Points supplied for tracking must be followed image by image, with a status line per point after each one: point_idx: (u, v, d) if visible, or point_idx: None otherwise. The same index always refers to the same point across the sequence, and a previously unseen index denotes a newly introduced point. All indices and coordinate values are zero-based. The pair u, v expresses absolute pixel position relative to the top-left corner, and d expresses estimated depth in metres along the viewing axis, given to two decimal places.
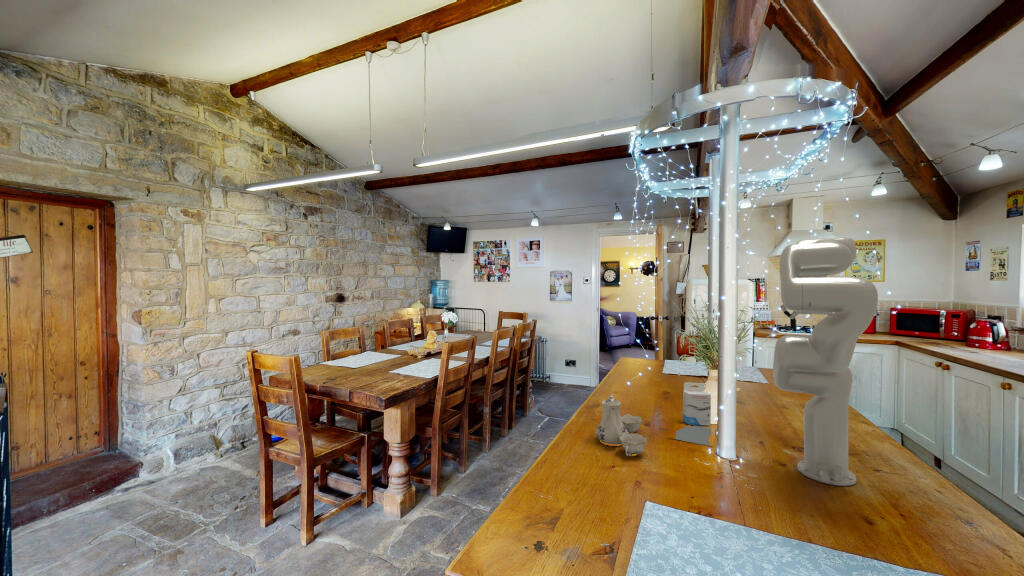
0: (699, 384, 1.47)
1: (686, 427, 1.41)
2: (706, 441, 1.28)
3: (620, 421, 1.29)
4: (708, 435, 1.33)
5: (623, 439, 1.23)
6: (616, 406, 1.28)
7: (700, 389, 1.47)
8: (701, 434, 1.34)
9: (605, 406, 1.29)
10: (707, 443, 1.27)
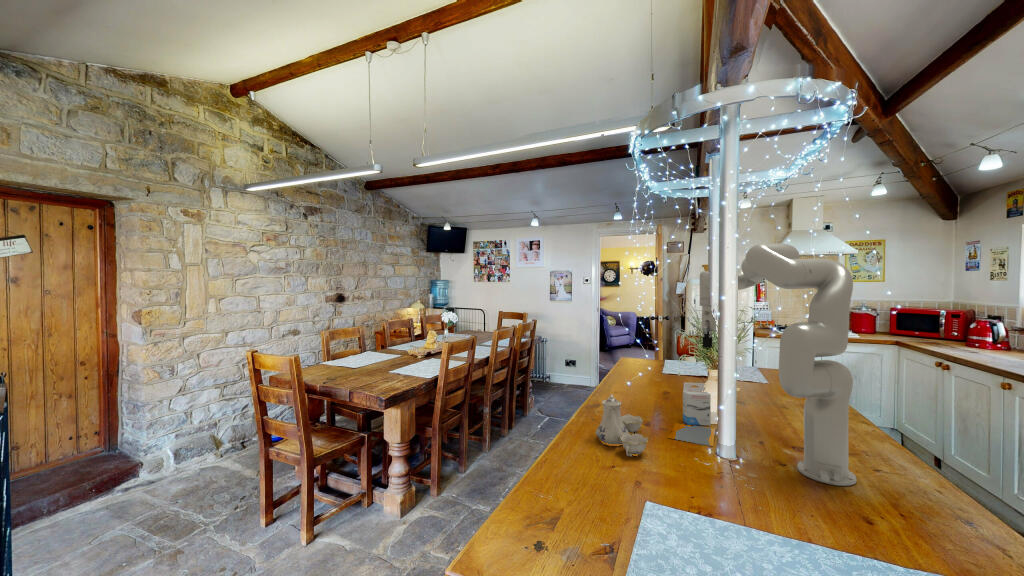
0: (699, 384, 1.47)
1: (686, 427, 1.41)
2: (706, 441, 1.28)
3: (620, 421, 1.29)
4: (708, 435, 1.33)
5: (624, 439, 1.23)
6: (616, 406, 1.28)
7: (700, 389, 1.47)
8: (701, 434, 1.34)
9: (605, 406, 1.29)
10: (707, 443, 1.27)
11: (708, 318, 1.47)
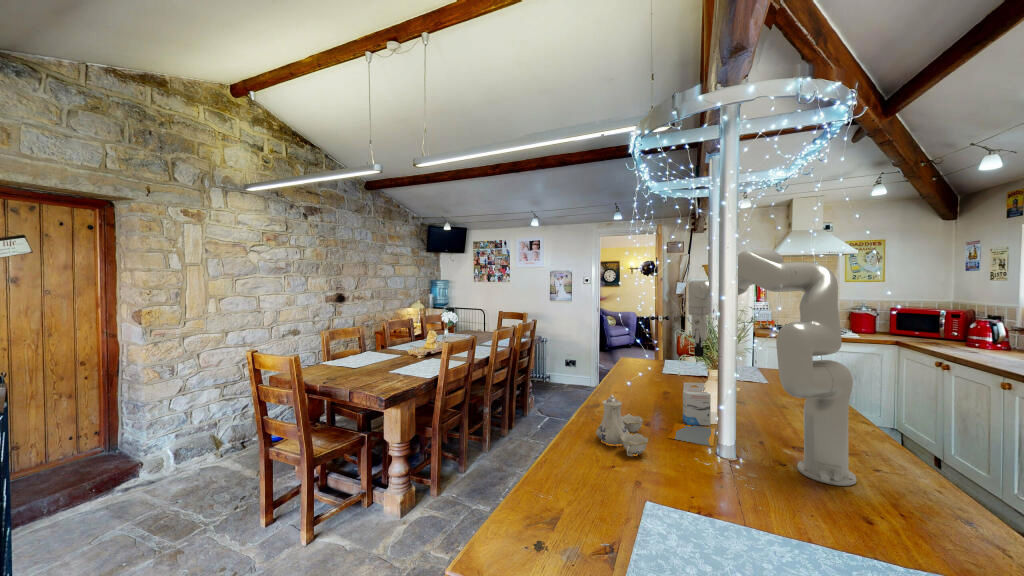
0: (699, 384, 1.47)
1: (686, 427, 1.41)
2: (706, 441, 1.28)
3: (621, 421, 1.29)
4: (708, 435, 1.33)
5: (624, 439, 1.23)
6: (617, 406, 1.28)
7: (700, 389, 1.47)
8: (701, 434, 1.34)
9: (606, 406, 1.29)
10: (707, 443, 1.27)
11: (698, 327, 1.50)
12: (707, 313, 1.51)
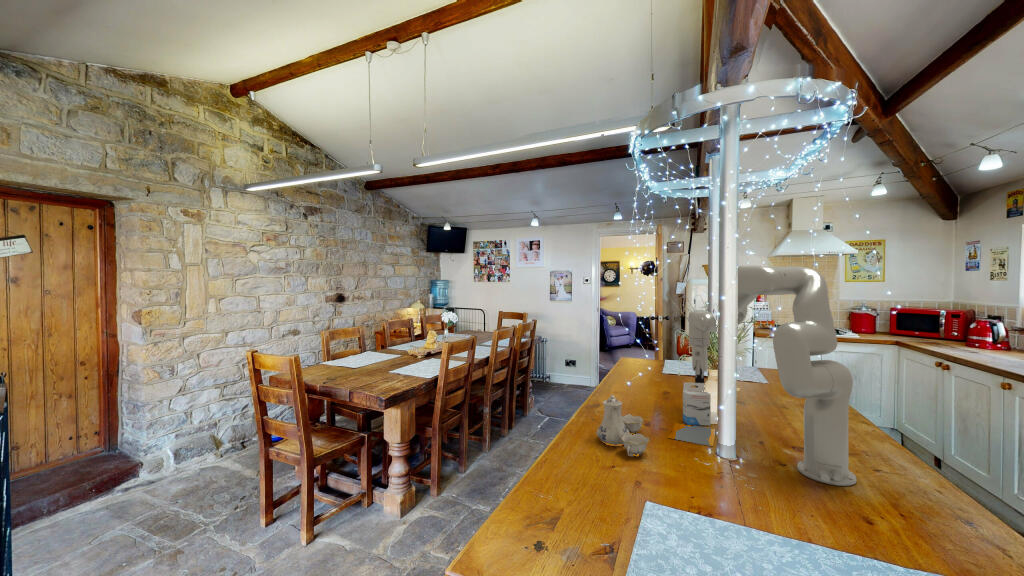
0: (699, 384, 1.47)
1: (686, 427, 1.41)
2: (706, 441, 1.28)
3: (621, 421, 1.29)
4: (708, 435, 1.33)
5: (625, 439, 1.23)
6: (617, 406, 1.28)
7: (700, 389, 1.47)
8: (701, 434, 1.34)
9: (606, 406, 1.29)
10: (707, 443, 1.27)
11: (699, 358, 1.50)
12: (707, 344, 1.51)
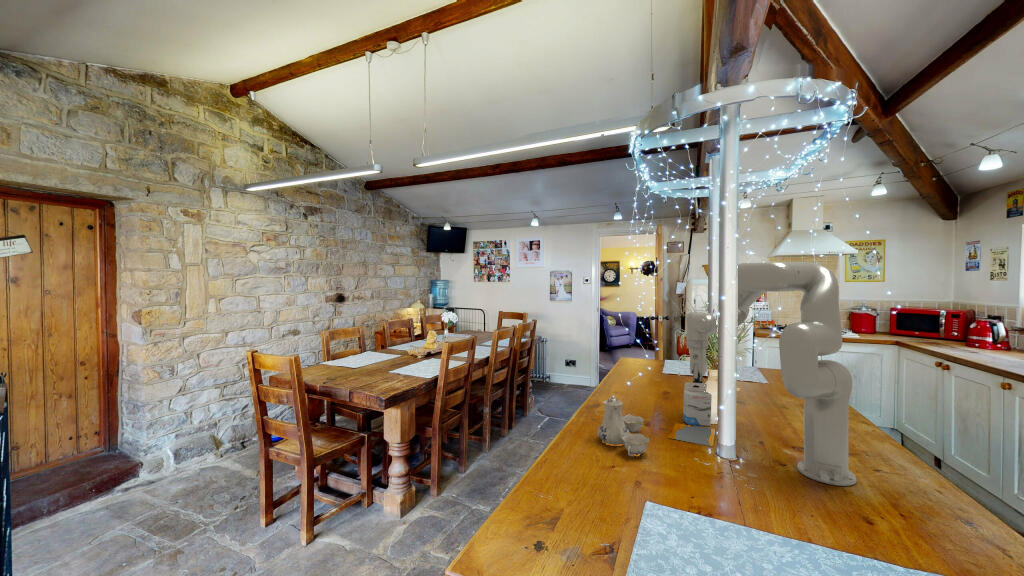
0: (700, 384, 1.46)
1: (686, 427, 1.41)
2: (706, 441, 1.28)
3: (622, 421, 1.29)
4: (708, 435, 1.33)
5: (625, 439, 1.23)
6: (618, 406, 1.28)
7: (701, 389, 1.46)
8: (701, 434, 1.34)
9: (607, 406, 1.29)
10: (707, 443, 1.27)
11: (696, 361, 1.45)
12: (706, 347, 1.46)
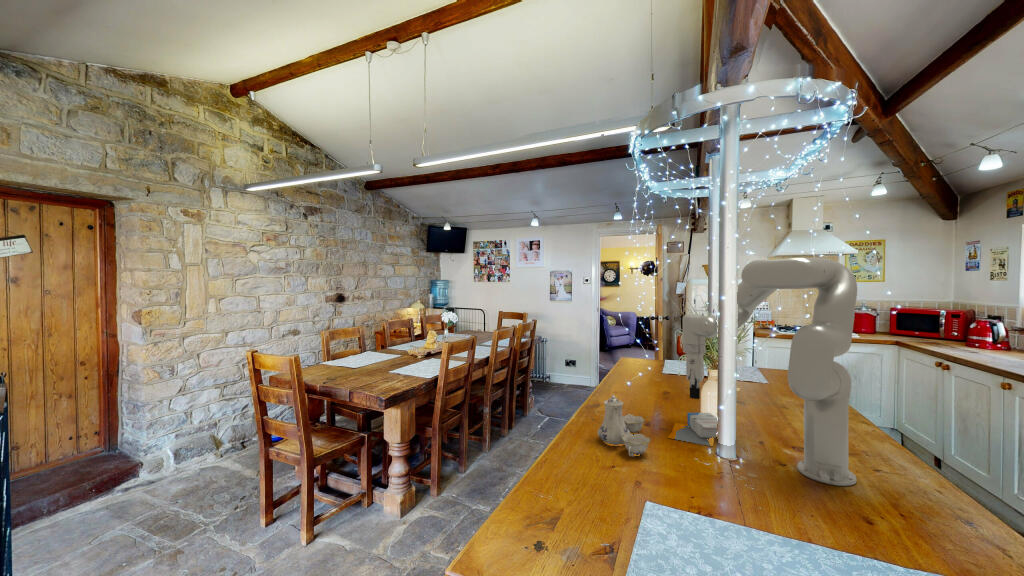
0: None
1: (686, 427, 1.41)
2: (706, 441, 1.28)
3: (622, 421, 1.29)
4: None
5: (626, 439, 1.23)
6: (618, 406, 1.28)
7: None
8: None
9: (607, 406, 1.29)
10: (707, 443, 1.27)
11: (693, 367, 1.36)
12: (703, 351, 1.37)
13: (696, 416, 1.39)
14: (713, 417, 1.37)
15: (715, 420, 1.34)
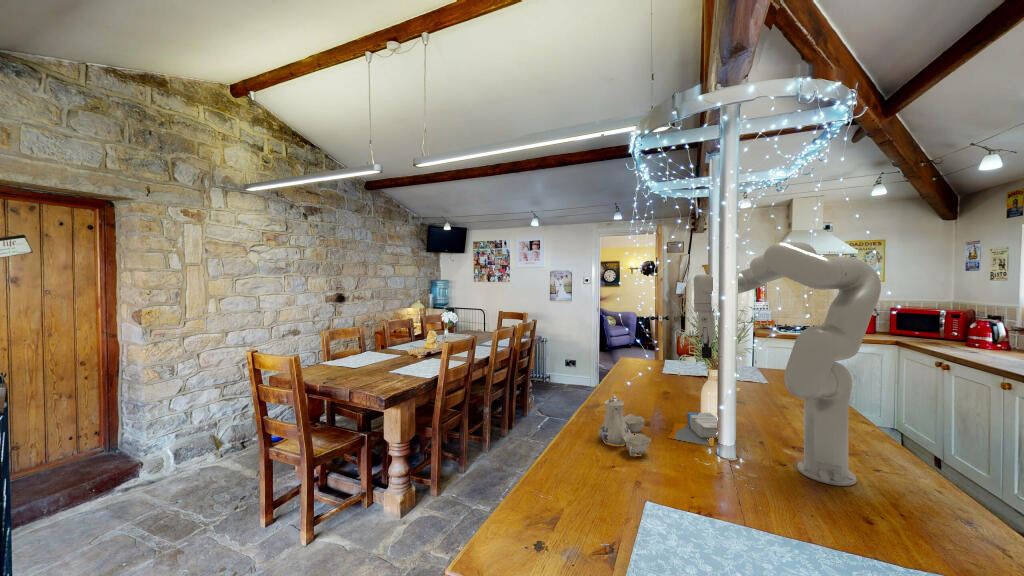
0: None
1: (686, 427, 1.41)
2: (706, 441, 1.28)
3: (623, 421, 1.29)
4: None
5: (626, 439, 1.23)
6: (619, 406, 1.28)
7: None
8: None
9: (608, 406, 1.29)
10: (707, 443, 1.27)
11: (706, 325, 1.37)
12: None
13: (696, 416, 1.39)
14: (713, 417, 1.37)
15: (715, 420, 1.34)
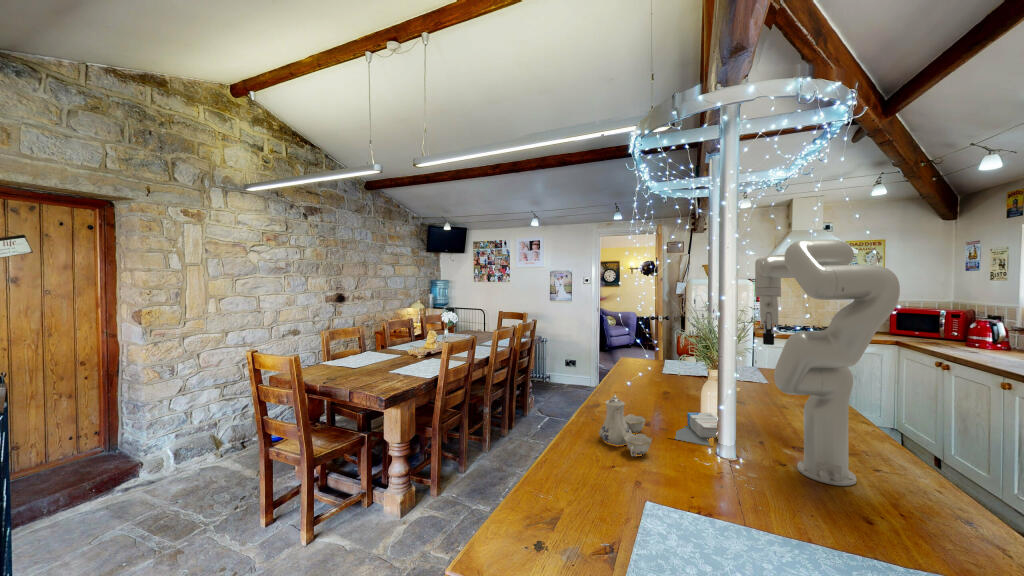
0: None
1: (686, 427, 1.41)
2: (706, 441, 1.28)
3: (624, 421, 1.29)
4: None
5: (627, 439, 1.23)
6: (620, 406, 1.28)
7: None
8: None
9: (609, 406, 1.29)
10: (707, 443, 1.27)
11: (770, 310, 1.31)
12: (779, 294, 1.32)
13: (696, 416, 1.39)
14: (713, 417, 1.37)
15: (715, 420, 1.34)
